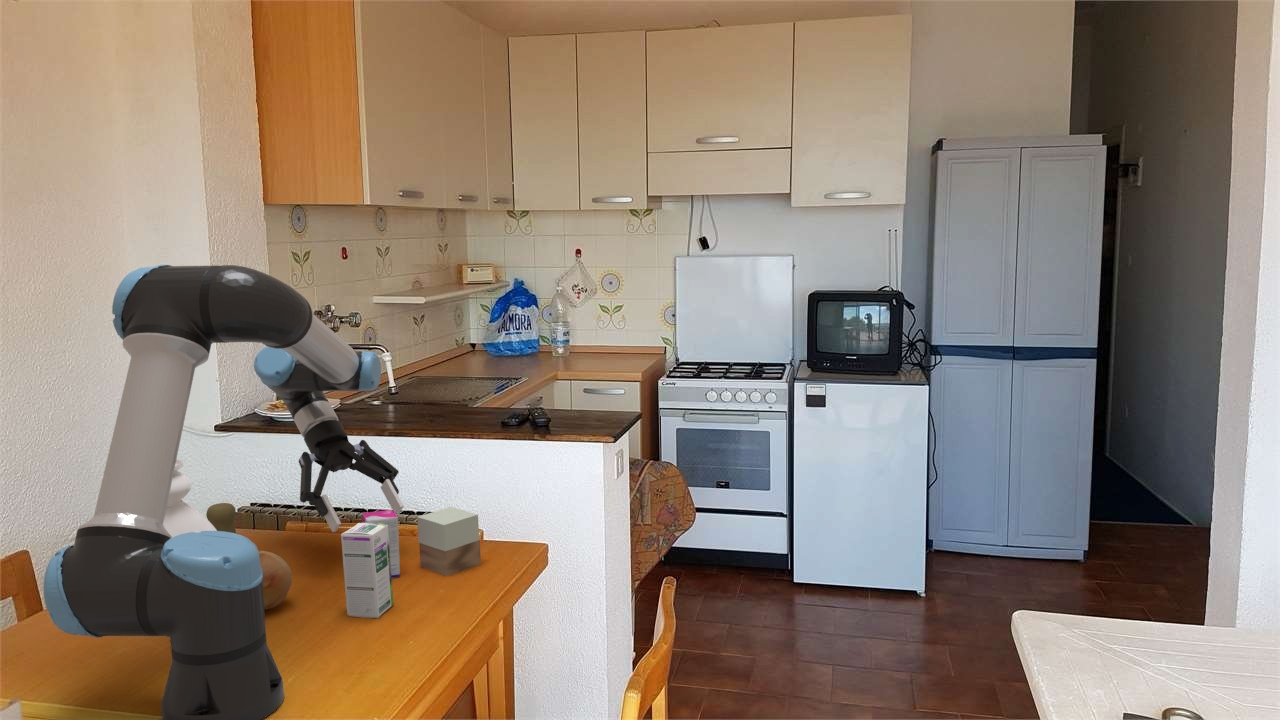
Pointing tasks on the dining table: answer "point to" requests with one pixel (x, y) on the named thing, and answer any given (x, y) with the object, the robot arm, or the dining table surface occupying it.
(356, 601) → the syrup box
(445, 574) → the tower base slab
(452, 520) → the tower top slab
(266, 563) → the onion
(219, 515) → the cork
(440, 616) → the dining table surface
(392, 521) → the supplement box
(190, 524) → the decorative vase
